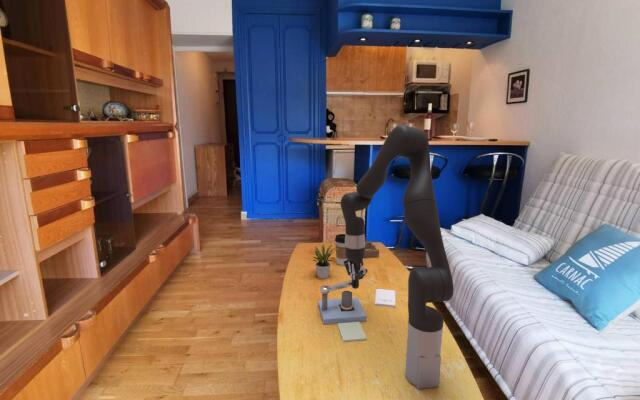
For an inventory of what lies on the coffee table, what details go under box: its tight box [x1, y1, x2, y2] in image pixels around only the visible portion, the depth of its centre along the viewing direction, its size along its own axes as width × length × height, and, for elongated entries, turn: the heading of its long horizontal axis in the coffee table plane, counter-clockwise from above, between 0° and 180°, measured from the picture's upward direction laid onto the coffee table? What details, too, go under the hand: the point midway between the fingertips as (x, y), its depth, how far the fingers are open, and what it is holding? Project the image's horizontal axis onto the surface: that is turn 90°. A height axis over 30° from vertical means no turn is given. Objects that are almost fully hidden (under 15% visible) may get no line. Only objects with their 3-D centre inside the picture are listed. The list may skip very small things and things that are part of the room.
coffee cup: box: [334, 233, 347, 266], centre depth 179 cm, size 8×8×15 cm
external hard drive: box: [374, 288, 397, 308], centre depth 144 cm, size 2×8×12 cm
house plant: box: [311, 242, 336, 279], centre depth 164 cm, size 14×14×16 cm
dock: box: [317, 293, 368, 325], centre depth 133 cm, size 14×16×9 cm
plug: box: [341, 290, 353, 312], centre depth 133 cm, size 5×5×8 cm
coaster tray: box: [363, 241, 380, 259], centre depth 194 cm, size 14×14×4 cm
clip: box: [319, 279, 352, 294], centre depth 134 cm, size 4×16×2 cm, turn 117°
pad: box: [337, 322, 368, 343], centre depth 122 cm, size 10×8×1 cm
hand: (355, 287), depth 134 cm, fingers closed
